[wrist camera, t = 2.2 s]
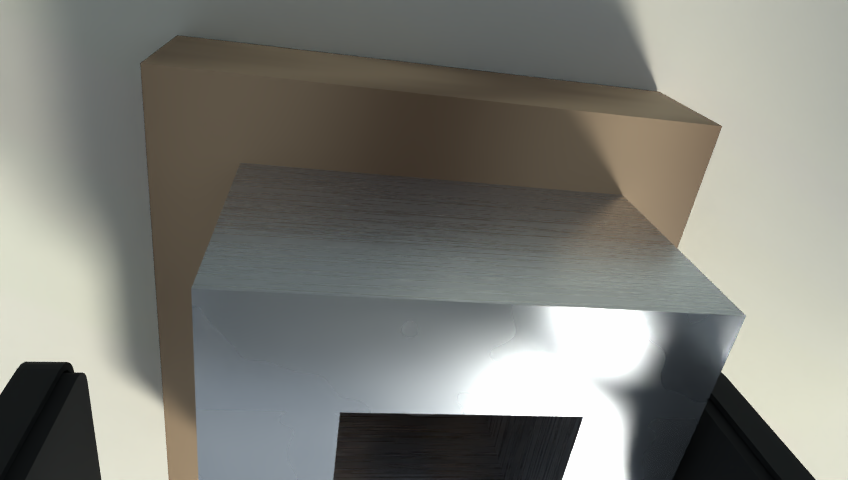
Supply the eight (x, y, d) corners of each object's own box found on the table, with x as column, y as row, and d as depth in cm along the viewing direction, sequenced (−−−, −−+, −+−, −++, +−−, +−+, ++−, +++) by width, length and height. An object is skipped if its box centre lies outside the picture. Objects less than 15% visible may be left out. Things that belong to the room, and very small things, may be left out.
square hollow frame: (622, 195, 12) (746, 315, 8) (540, 462, 15) (603, 632, 11) (240, 162, 10) (191, 288, 7) (239, 460, 14) (204, 652, 10)
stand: (659, 91, 13) (773, 154, 10) (553, 432, 18) (605, 558, 14) (176, 35, 12) (108, 86, 8) (193, 427, 16) (153, 570, 13)
